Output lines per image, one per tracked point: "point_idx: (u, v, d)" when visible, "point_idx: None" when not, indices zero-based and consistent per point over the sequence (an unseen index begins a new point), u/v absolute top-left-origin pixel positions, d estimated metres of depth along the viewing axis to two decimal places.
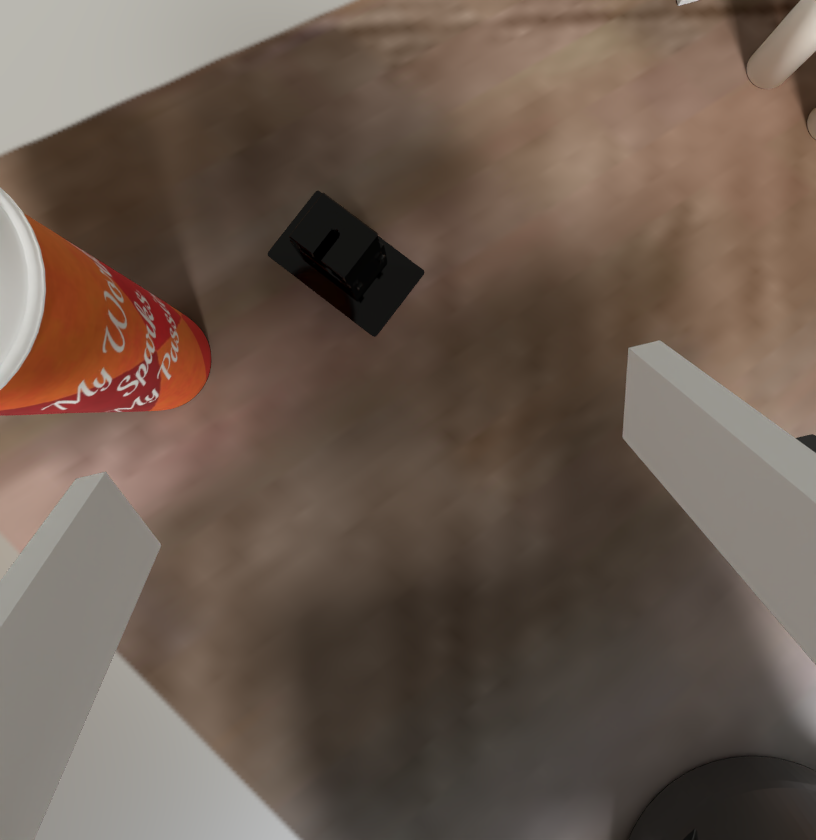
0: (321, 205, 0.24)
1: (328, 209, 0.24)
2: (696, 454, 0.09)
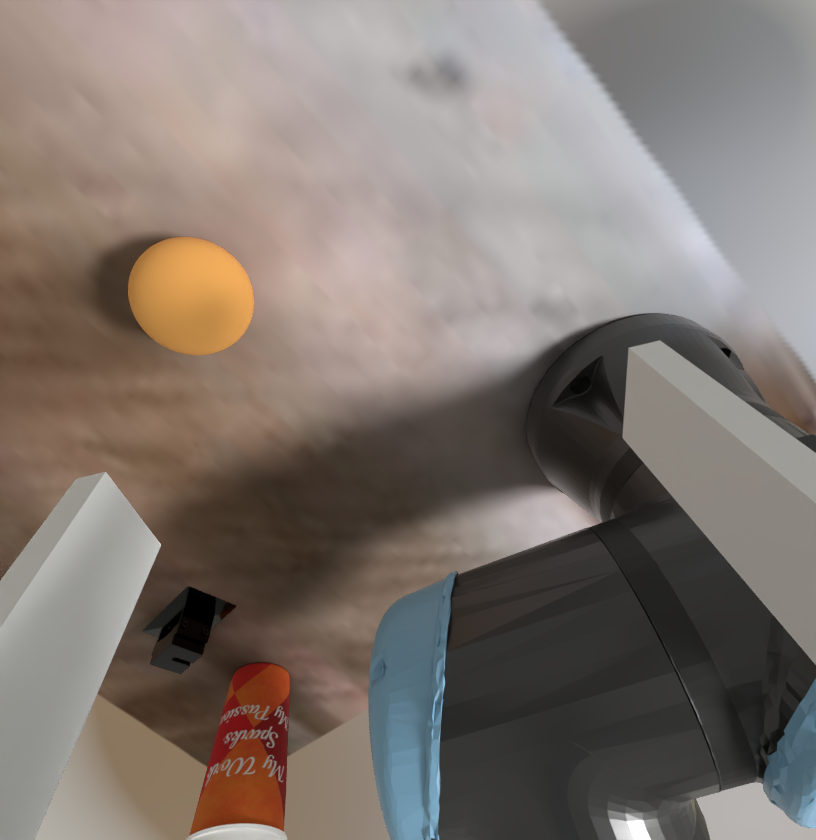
0: (158, 664, 0.40)
1: (160, 661, 0.40)
2: (696, 454, 0.09)
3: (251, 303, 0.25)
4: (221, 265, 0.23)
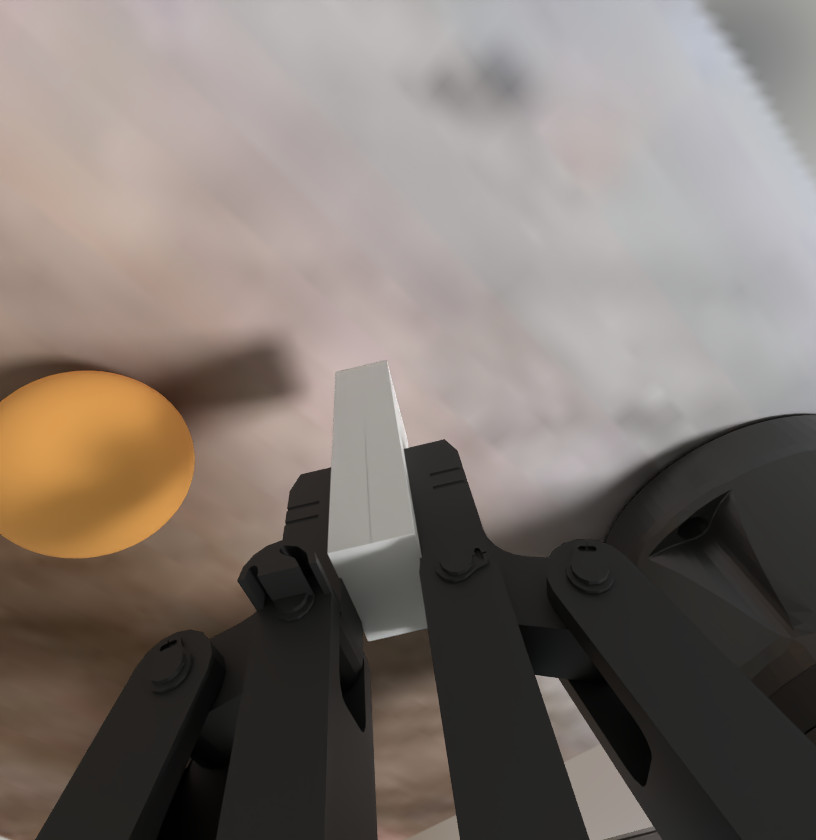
0: None
1: None
2: None
3: (186, 467, 0.15)
4: (122, 426, 0.13)
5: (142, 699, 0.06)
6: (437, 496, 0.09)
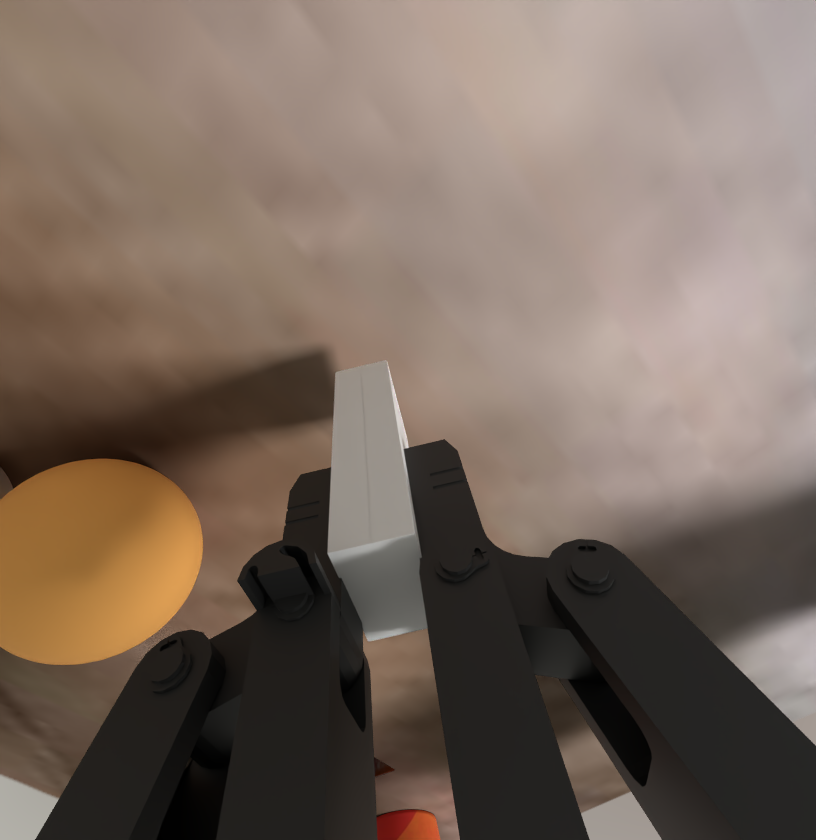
0: None
1: None
2: None
3: None
4: None
5: (141, 699, 0.06)
6: (437, 496, 0.09)
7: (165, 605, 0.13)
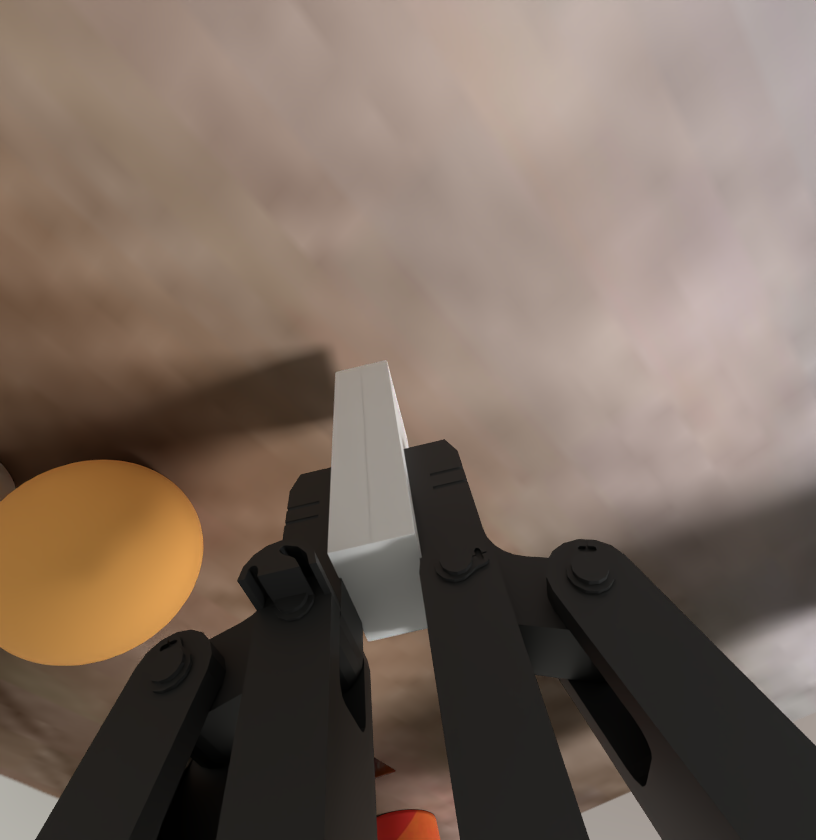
0: None
1: None
2: None
3: None
4: None
5: (141, 699, 0.06)
6: (437, 496, 0.09)
7: (166, 606, 0.14)
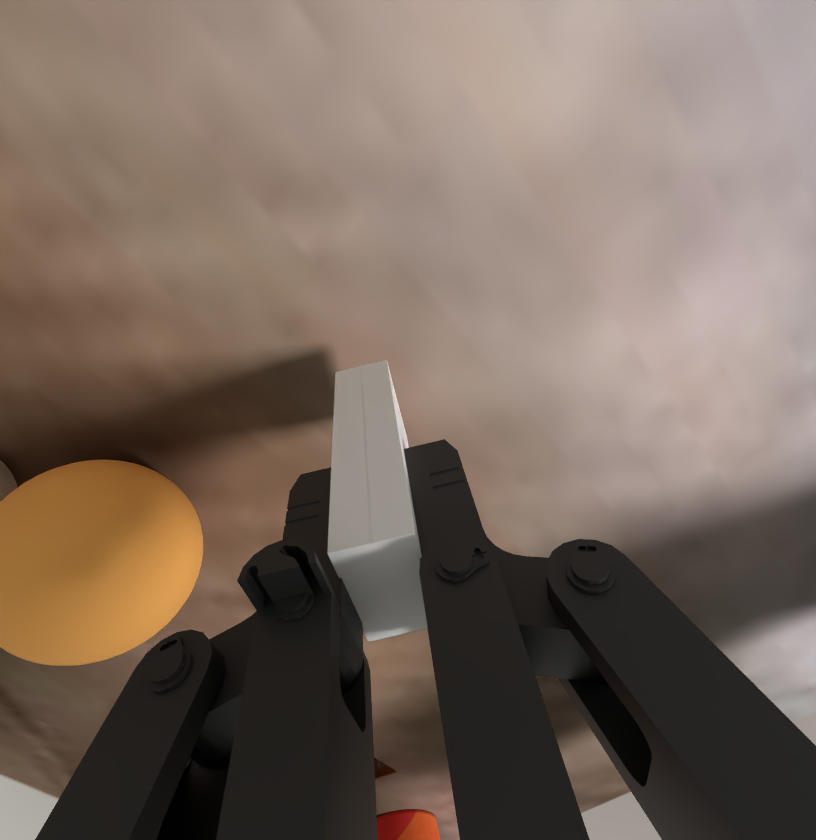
0: None
1: None
2: None
3: None
4: None
5: (141, 699, 0.06)
6: (437, 496, 0.09)
7: (166, 606, 0.14)
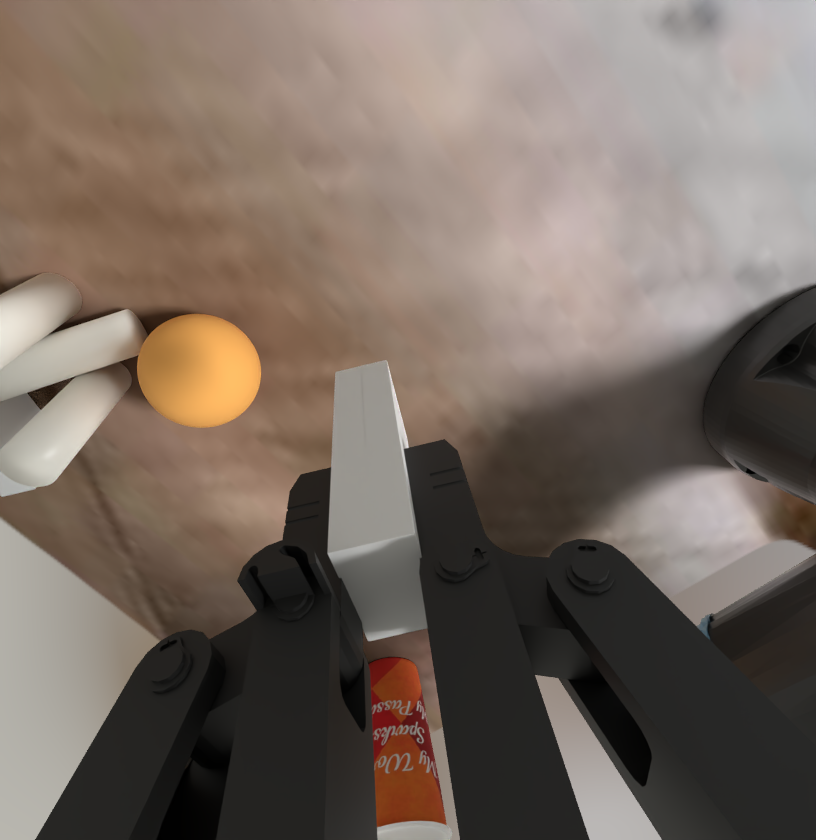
0: None
1: None
2: None
3: None
4: None
5: (142, 699, 0.06)
6: (437, 496, 0.09)
7: (244, 392, 0.24)
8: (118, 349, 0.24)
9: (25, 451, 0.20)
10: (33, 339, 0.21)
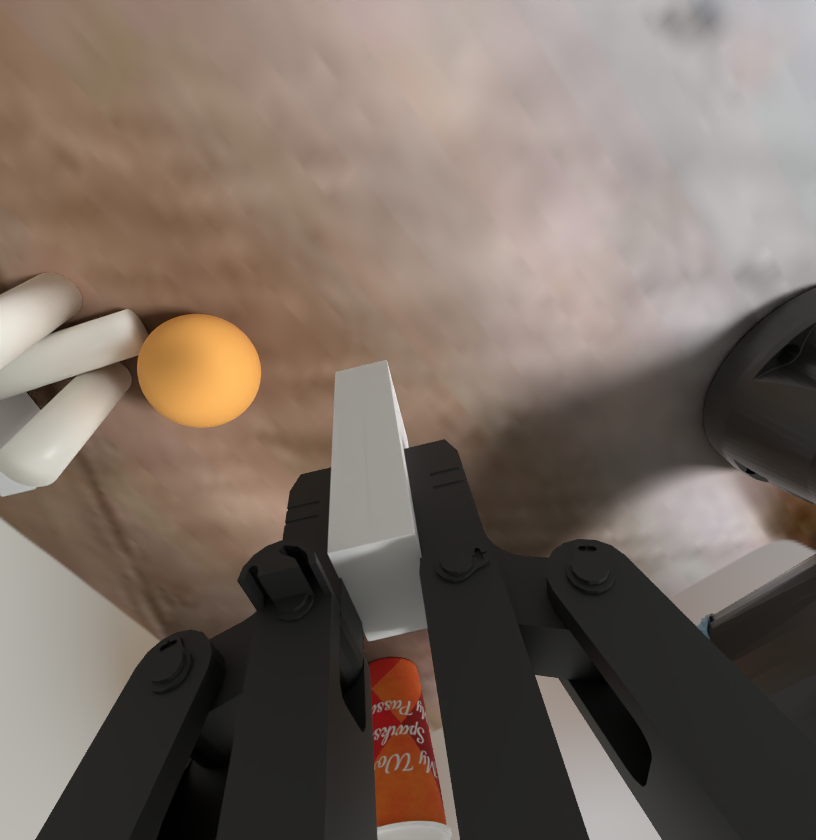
0: None
1: None
2: None
3: None
4: None
5: (142, 699, 0.06)
6: (437, 496, 0.09)
7: (244, 392, 0.24)
8: (118, 349, 0.24)
9: (25, 451, 0.20)
10: (33, 339, 0.21)
